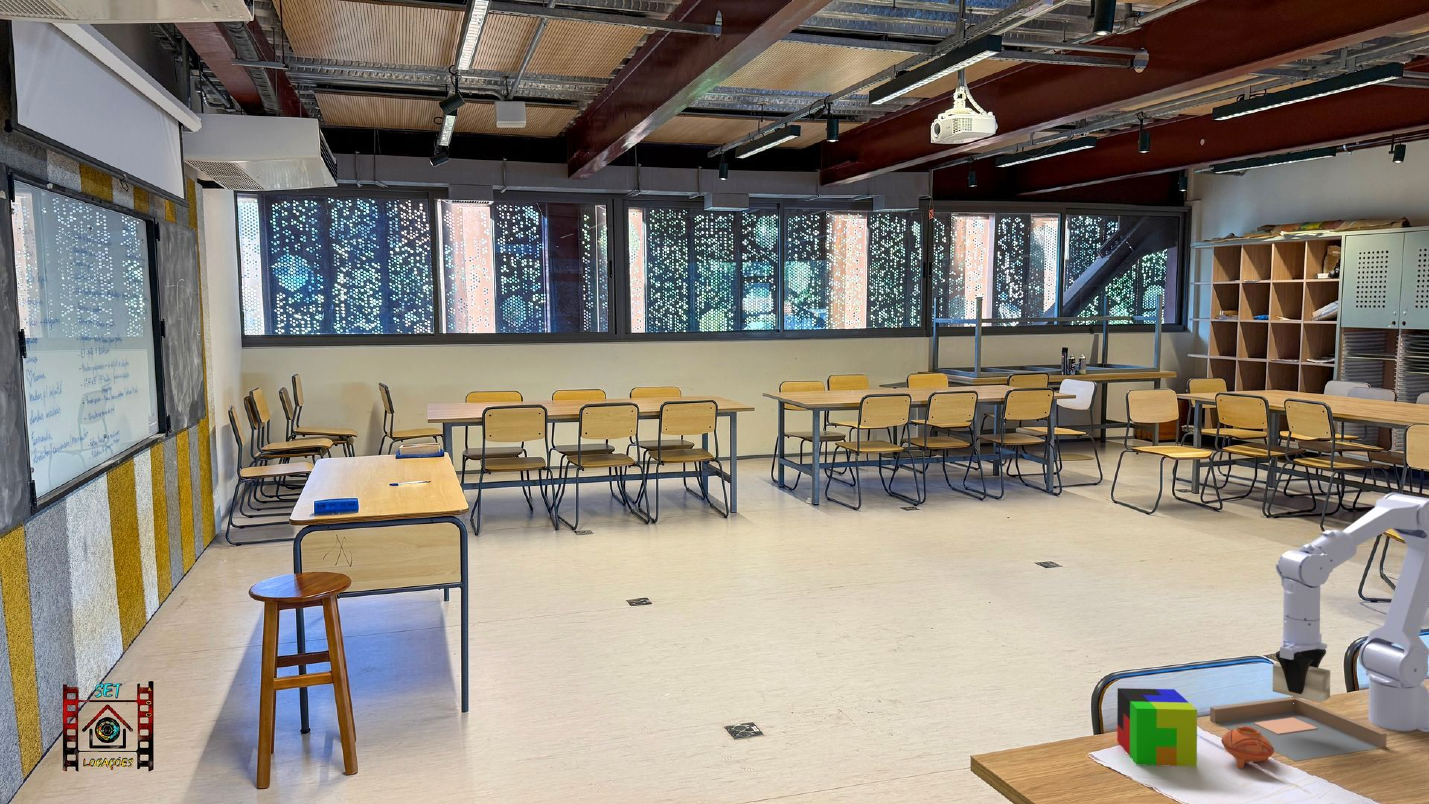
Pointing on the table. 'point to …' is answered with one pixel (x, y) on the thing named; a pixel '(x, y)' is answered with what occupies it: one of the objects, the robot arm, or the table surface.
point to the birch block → (1313, 688)
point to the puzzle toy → (1157, 727)
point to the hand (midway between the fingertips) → (1300, 689)
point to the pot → (1247, 745)
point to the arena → (1300, 727)
